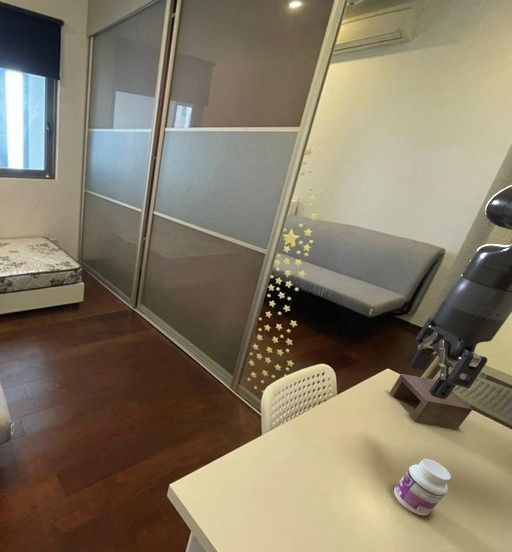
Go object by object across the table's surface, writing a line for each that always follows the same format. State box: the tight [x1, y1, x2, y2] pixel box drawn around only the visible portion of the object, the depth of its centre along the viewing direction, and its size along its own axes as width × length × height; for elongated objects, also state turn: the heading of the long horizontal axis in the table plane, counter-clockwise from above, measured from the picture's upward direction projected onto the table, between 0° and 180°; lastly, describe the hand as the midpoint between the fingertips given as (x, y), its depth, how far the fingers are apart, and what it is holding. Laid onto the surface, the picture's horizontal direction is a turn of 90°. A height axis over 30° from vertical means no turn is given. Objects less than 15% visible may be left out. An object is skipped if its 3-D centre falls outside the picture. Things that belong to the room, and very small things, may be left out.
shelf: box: [389, 373, 474, 431], centre depth 83 cm, size 10×10×7 cm
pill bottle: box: [393, 458, 452, 516], centre depth 59 cm, size 5×5×10 cm
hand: (425, 381), depth 60 cm, fingers open, 8 cm apart
